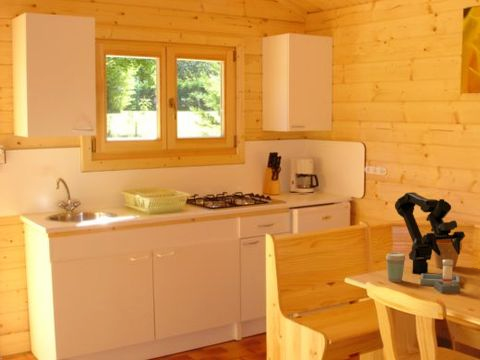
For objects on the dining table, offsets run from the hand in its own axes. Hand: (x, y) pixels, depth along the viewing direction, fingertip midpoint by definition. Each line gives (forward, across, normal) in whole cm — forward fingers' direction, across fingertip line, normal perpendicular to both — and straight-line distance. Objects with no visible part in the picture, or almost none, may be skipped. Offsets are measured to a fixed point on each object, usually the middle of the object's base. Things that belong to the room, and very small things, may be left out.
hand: (449, 254), depth 288 cm
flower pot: (-11, +18, +33) cm, 39 cm away
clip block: (+15, -5, +4) cm, 16 cm away
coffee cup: (+1, -18, +20) cm, 27 cm away
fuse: (+15, -5, +4) cm, 16 cm away
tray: (+7, -1, +13) cm, 15 cm away
